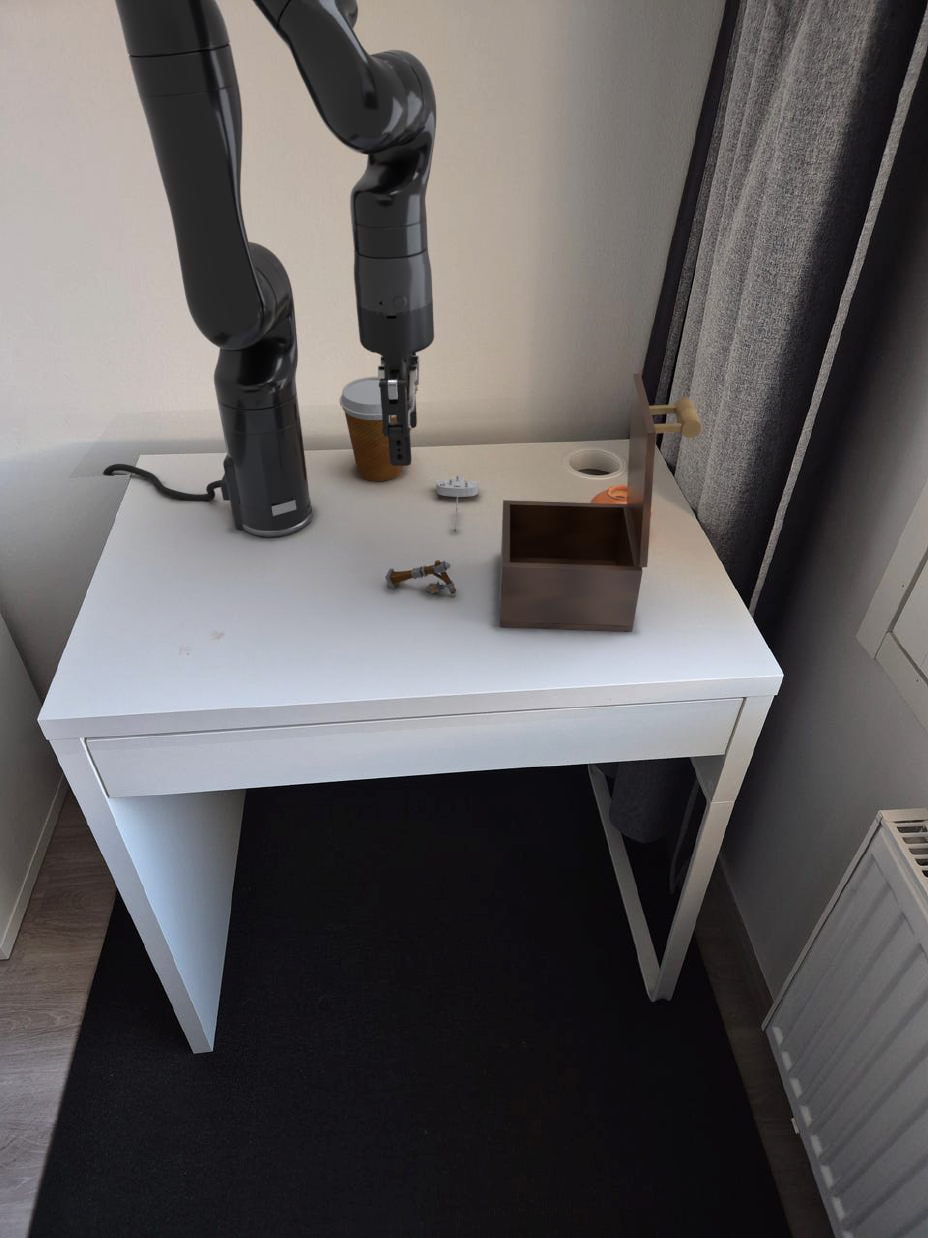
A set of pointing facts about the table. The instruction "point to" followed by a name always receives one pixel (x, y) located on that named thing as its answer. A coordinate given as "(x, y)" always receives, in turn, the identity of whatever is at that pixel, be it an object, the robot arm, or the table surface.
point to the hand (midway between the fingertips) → (404, 444)
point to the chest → (568, 566)
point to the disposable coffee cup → (368, 429)
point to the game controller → (457, 489)
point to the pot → (613, 496)
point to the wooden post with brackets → (419, 572)
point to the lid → (650, 456)
